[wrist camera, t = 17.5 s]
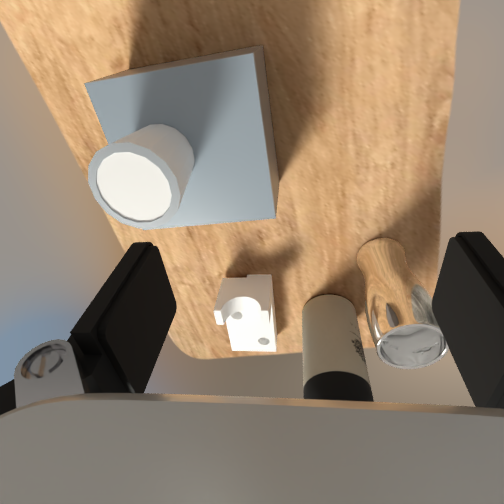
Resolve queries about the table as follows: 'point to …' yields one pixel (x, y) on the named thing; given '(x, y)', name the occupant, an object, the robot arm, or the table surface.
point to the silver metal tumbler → (398, 308)
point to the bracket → (248, 312)
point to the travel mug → (333, 351)
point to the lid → (200, 133)
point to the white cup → (142, 175)
